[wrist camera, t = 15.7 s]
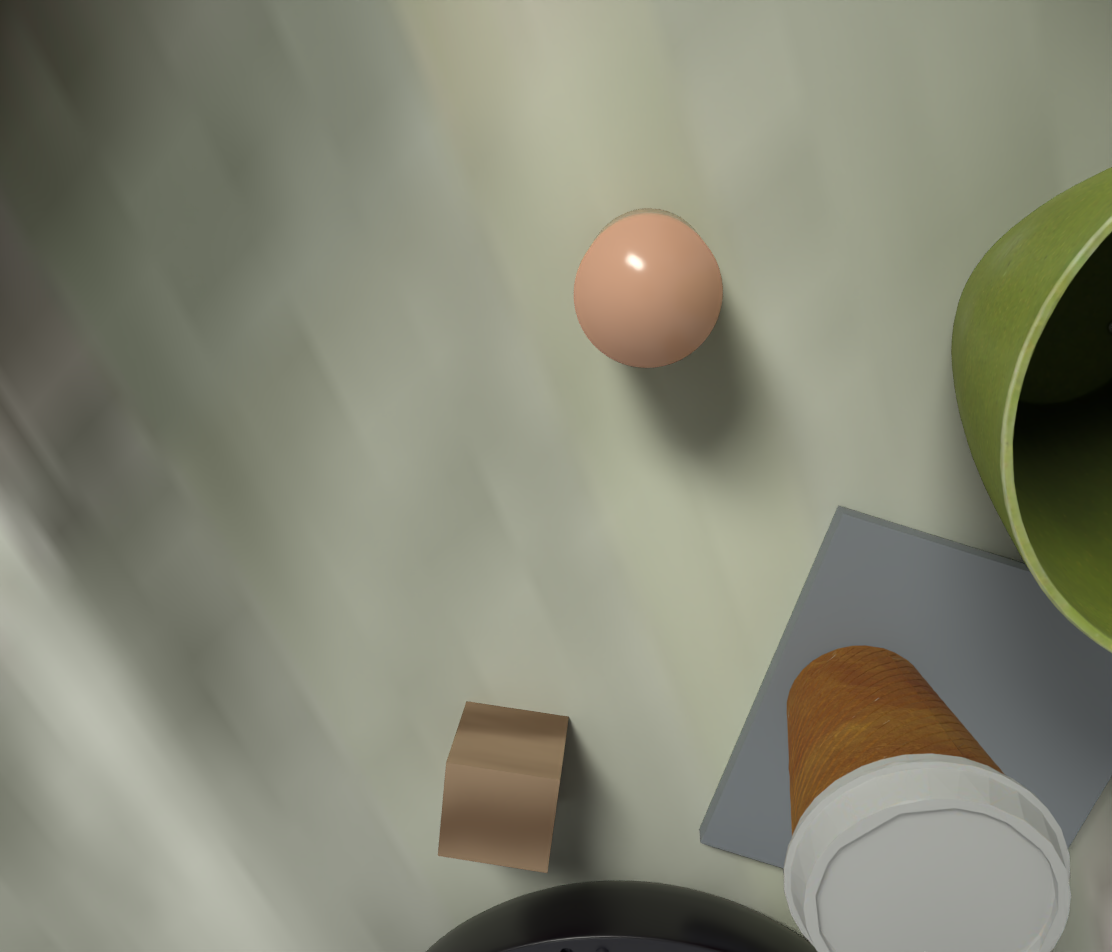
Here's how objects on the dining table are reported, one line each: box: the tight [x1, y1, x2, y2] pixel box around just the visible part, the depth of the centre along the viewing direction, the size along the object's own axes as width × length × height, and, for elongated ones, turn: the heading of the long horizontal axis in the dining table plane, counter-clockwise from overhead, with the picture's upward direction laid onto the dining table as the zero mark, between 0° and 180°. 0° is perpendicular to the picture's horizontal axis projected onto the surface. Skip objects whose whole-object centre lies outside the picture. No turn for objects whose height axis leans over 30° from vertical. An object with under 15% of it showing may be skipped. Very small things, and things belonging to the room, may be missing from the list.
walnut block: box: [438, 702, 569, 873], centre depth 44 cm, size 5×5×5 cm
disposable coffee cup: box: [784, 645, 1071, 952], centre depth 37 cm, size 10×10×12 cm
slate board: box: [699, 506, 1112, 868], centre depth 43 cm, size 18×16×1 cm
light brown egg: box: [574, 208, 723, 368], centre depth 35 cm, size 5×5×7 cm
